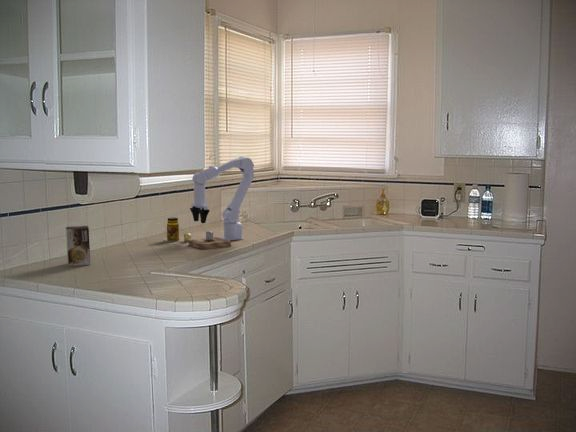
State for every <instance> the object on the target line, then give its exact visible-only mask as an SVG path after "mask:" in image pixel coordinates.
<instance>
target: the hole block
mask: <svg viewBox="0 0 576 432" xmlns="http://www.w3.org/2000/svg"><path fill="white" fill-rule="evenodd" d="M221 238H222V237H218V236H215V237H214V236H213V241H212V242H206V237H205V238H197V239H191V240H189V242H188V246H191V247H192V248H193V247H194V248H197V249H200V250H209V249H219V247H220V248H225V247H226V246H228V247H231V246H232V240H230V241H228V240H225V239H221ZM226 248H227V247H226Z"/></svg>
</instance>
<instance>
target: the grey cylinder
mask: <svg viewBox="0 0 576 432" xmlns="http://www.w3.org/2000/svg"><path fill="white" fill-rule="evenodd" d="M205 238H206V242H212V241H213V238H214V231H211V230H209V231H208V230H207V231H205Z"/></svg>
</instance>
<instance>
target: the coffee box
mask: <svg viewBox="0 0 576 432" xmlns="http://www.w3.org/2000/svg"><path fill="white" fill-rule="evenodd" d="M65 231H66V232H65V233H66V248H67V249H66V251H67V252H66V253H67V266H68V267H79V266H89V265H91V249H90V248H91V247H90V228H89V225H78V226H77V225H75V226H66V227H65Z"/></svg>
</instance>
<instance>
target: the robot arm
mask: <svg viewBox="0 0 576 432" xmlns="http://www.w3.org/2000/svg"><path fill="white" fill-rule="evenodd" d="M254 166H255V164H254V162H253V160H252V159H251V158H250V157H244V156H240V157H237V158H234V159H231V160H229V161H227V162H225V163H223V164H221V165H219V166H214V165H213V166H212V165H210V166H208V168H206V169H201V170H200V172H199V171H198V172H196V173H195V172H194V174H193V176H192V177H191V178H192V181H193V202H192V203H190V204H191V207H190V208H189V210H190V212H191V214H192V218H193V222H199V221H200V224H206V222H207V218H208V214H209V213H210V210H211V209H209V206H208V204H206V182H208V181H210V180H213V179H214V178H218V177H219V175H220V173H222V172H225V171H227V170H231V169H232V168H236V169H237V168H238V169H239V170H240V172H241V175H242V178H241V181H240V182H239V185H238V187H237V188H236V191H235V193H234V195H233V198H232V200H231V202H230V203H229V204H228V205H227V207H226V209H224V210H223V212H222V219H223V237H220V238H221V239H225V240H228V241H236V240H237V241H238V240H243V239H244V238H243V225H242V223H241V222H240V221H238V220H239V214H240V210H241V206H242V203H243V201H244V199H245V197H246V195H247V193H248V191H249V188H250V186H251V184H252V182H253V180H254V177H255V175H254V171H255V170H254V168H255V167H254Z"/></svg>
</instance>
